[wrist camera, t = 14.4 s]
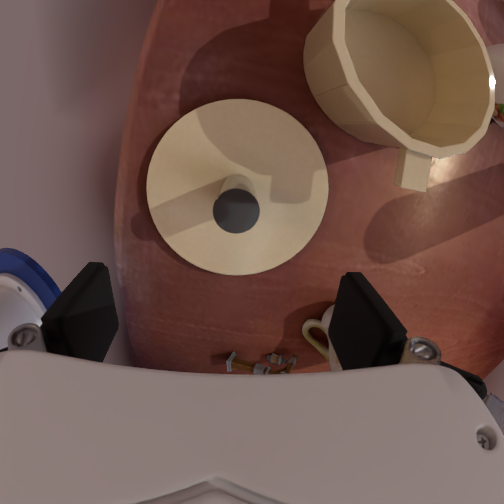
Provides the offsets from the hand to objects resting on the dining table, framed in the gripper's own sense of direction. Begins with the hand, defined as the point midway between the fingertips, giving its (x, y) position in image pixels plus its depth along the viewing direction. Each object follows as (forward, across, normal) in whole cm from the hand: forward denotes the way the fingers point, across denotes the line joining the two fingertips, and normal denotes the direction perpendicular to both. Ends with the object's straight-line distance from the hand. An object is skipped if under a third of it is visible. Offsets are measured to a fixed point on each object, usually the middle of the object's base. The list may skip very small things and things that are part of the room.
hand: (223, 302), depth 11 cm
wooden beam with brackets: (+16, -4, +18) cm, 24 cm away
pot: (+15, -13, -14) cm, 24 cm away
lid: (+15, -1, -1) cm, 15 cm away
